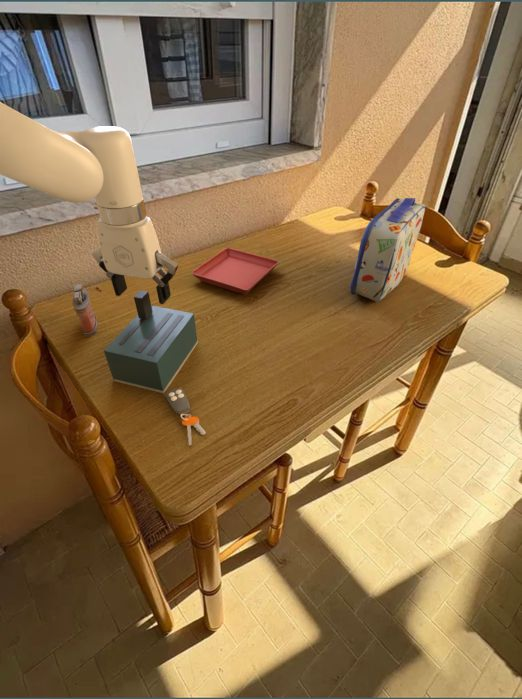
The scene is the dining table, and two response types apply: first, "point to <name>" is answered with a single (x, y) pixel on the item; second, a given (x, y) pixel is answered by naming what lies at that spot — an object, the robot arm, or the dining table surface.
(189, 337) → the toaster
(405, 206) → the lunch box
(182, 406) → the key chain
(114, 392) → the dining table surface
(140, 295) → the slider
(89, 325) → the lighter
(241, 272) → the plant saucer
